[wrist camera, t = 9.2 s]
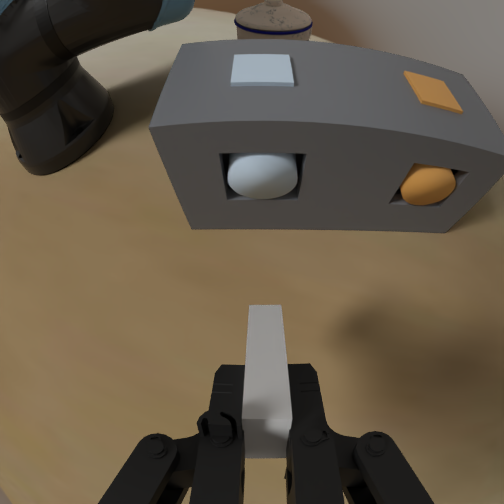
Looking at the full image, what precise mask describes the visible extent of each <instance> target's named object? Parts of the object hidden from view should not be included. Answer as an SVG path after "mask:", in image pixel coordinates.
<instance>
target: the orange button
mask: <svg viewBox="0 0 504 504" xmlns="http://www.w3.org/2000/svg"><path fill="white" fill-rule="evenodd" d="M455 185H456V181H455V178H454V175H453V173H452V170H451V169H450V168H444V167H438V166H431V165H425V164H418V163H414V164H413V166H412V167H411V169H410V171H409V172H408V174H407V175H406V177H405V179H404V180H403V182H402V183H401V185H400V190H401V194H402V197H403V199H404V200H405V201H406V202H407V203H410V204H413V205H428V204H432V203H436V202H438V201H440V200H442V199H444V198H446V197H447V196H448V195H449V194H451V192H452V191H453V190H454V188H455Z"/></svg>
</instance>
